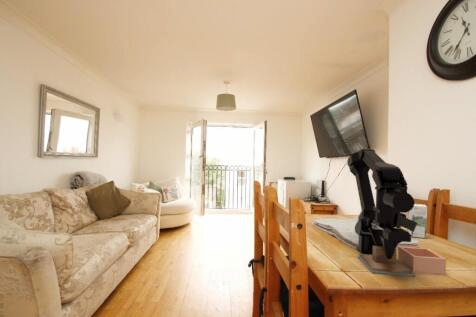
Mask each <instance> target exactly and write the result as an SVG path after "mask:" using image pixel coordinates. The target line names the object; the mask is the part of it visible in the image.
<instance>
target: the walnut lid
mask: <svg viewBox="0 0 476 317" xmlns="http://www.w3.org/2000/svg"><path fill="white" fill-rule="evenodd" d="M358 256H360V258H361V259H362V260H363V261H364V262H365V263H366V264H367V265H368V266H369V267H370V268H371V269H372V270H373V271H385V272H397V273H410V274H412V270H410V269H409V268H408V267H407V266H405V265H404V264H403V263H401V262H400V261H399V260H398V258H397V248H396V249H395V251H394V254H393V256H392V258H391V259H387V257H386V254H385V250H384V247H383V246H373V255H370V254H362V253H359V255H358Z"/></svg>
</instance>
